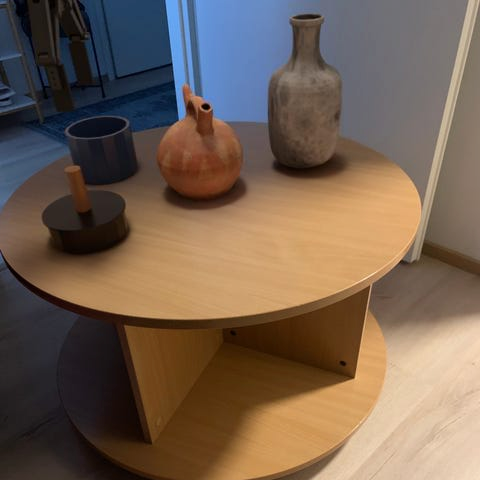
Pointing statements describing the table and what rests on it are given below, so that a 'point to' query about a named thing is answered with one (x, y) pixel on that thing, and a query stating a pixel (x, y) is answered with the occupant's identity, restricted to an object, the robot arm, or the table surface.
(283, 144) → the vase
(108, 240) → the pan
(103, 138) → the pot
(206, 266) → the table surface
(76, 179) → the lid
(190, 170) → the jug
